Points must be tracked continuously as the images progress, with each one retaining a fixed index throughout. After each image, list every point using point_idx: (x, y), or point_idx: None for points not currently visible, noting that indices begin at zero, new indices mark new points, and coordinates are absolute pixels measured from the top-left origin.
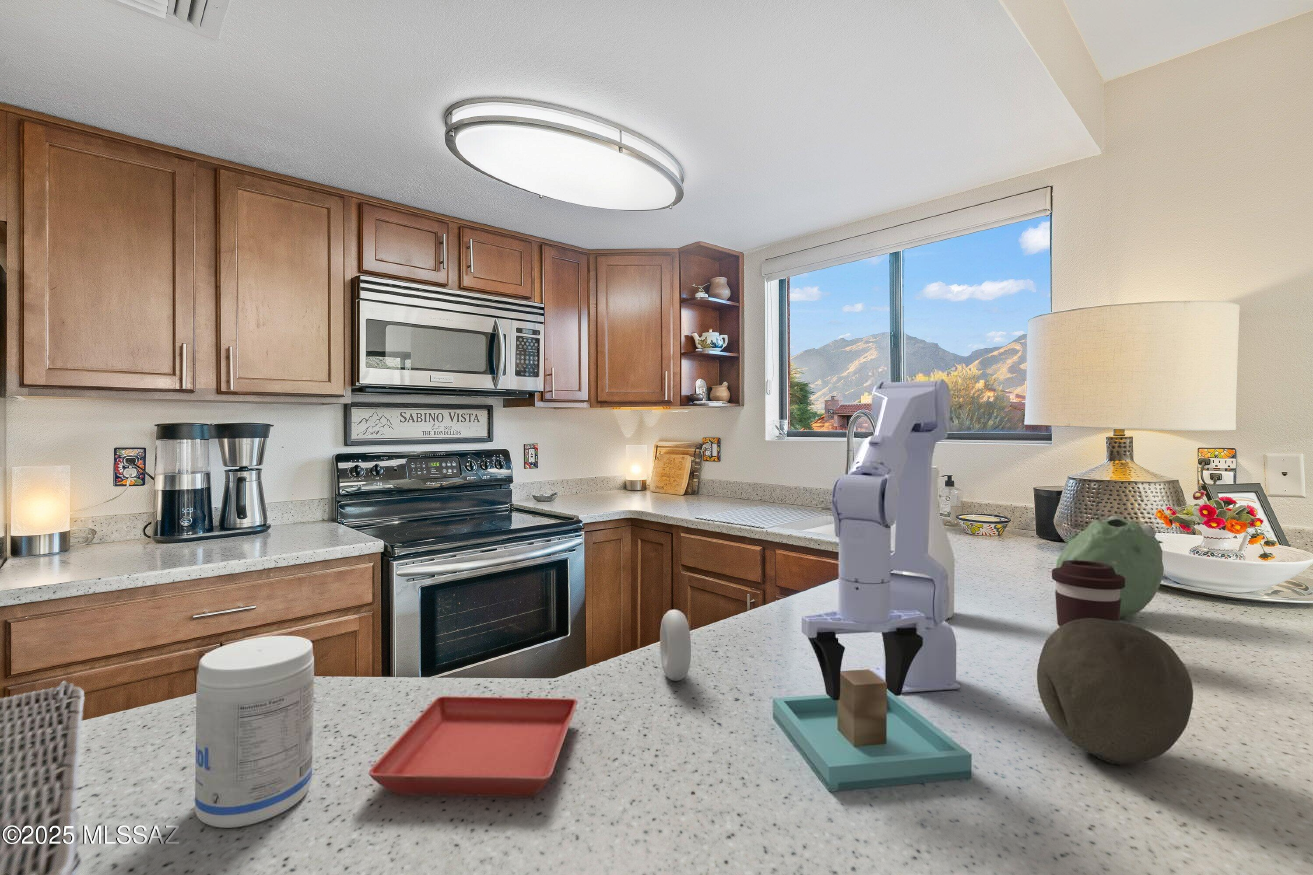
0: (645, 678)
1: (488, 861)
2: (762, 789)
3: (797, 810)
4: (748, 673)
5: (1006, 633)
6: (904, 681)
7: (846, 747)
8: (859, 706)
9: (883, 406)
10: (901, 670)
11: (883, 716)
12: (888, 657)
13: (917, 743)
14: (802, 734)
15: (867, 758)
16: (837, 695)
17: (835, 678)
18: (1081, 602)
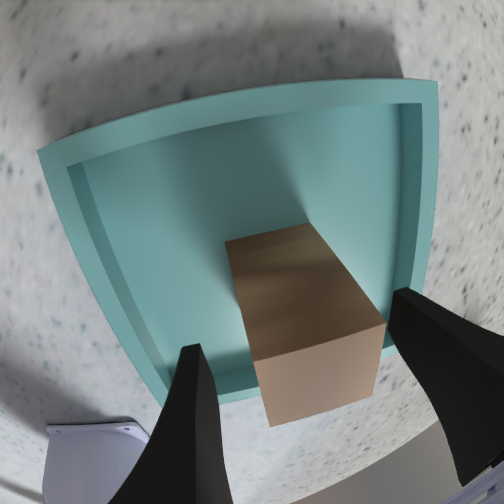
0: None
1: None
2: (484, 106)
3: (457, 41)
4: (356, 423)
5: (14, 485)
6: (171, 383)
7: (327, 217)
8: (334, 281)
9: None
10: (190, 415)
11: (244, 278)
12: (221, 467)
13: (144, 251)
14: (433, 218)
15: (345, 103)
16: (409, 294)
17: (453, 321)
18: None
